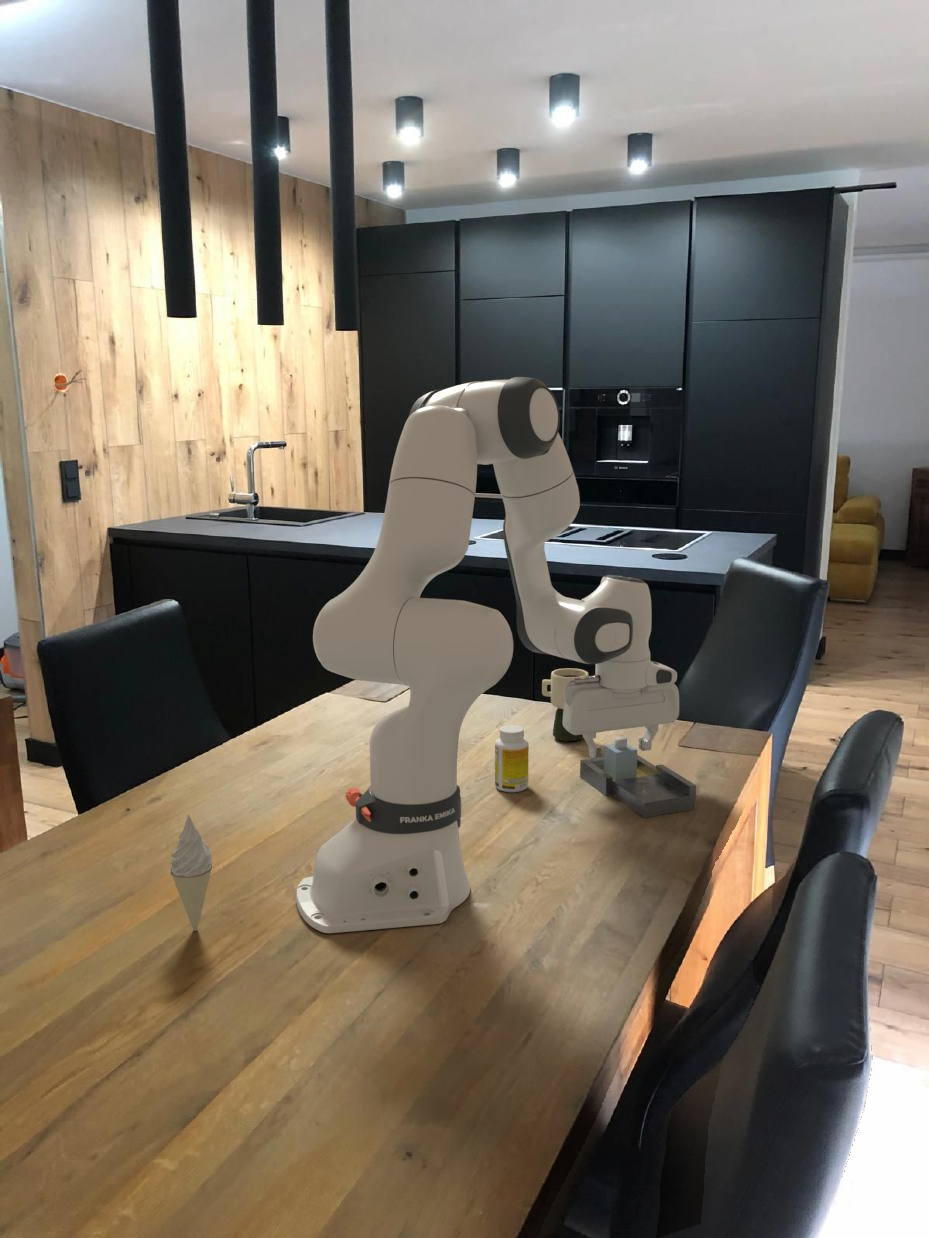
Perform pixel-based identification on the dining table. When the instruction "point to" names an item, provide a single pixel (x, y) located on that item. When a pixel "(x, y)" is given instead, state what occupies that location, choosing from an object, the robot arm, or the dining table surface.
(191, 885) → the ice cream cone
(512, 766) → the supplement bottle
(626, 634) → the robot arm
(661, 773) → the rail
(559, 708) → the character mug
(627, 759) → the light blue tall block
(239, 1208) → the dining table surface
